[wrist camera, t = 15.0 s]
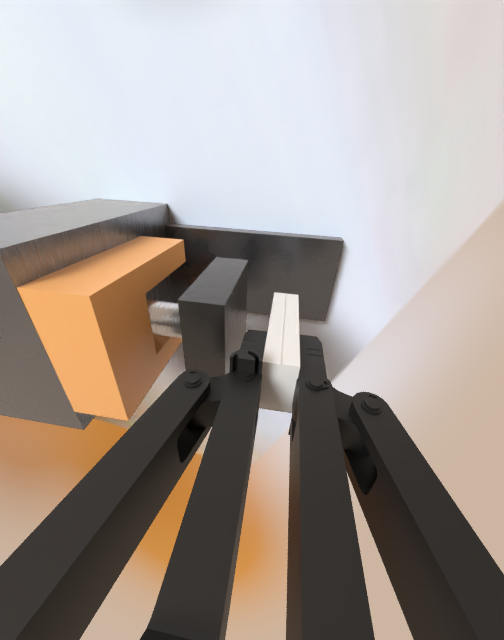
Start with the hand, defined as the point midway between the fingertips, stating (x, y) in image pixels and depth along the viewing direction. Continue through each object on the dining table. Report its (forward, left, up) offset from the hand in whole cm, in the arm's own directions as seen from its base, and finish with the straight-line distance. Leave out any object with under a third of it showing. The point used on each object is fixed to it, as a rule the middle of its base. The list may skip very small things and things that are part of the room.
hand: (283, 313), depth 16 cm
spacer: (-9, 0, -2) cm, 9 cm away
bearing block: (-6, 0, -7) cm, 9 cm away
